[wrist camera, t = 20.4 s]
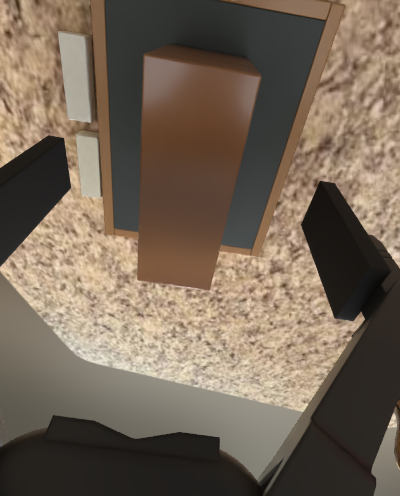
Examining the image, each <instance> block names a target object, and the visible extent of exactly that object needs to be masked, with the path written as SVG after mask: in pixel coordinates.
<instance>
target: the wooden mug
mask: <svg viewBox="0 0 400 496" xmlns="http://www.w3.org/2000/svg"><path fill="white" fill-rule="evenodd" d="M393 413H394V414H395V415H396V418H397V432H396V438H395V449H394V453H395V457H396V462H397V466H398V468H399V470H400V397H399V399H398V402H397V404H396V407H395V409H394V412H393Z"/></svg>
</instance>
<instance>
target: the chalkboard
mask: <svg viewBox="0 0 400 496" xmlns="http://www.w3.org/2000/svg"><path fill="white" fill-rule="evenodd" d="M344 9H345V5H344V4H339V3H331V2H328V1H323V0H91V16H92V32H93V47H94V63H95V79H96V95H97V110H98V126H99V142H100V157H101V173H102V189H103V205H104V220H105V234H108V235H115V236H122V237H128V238H135V239H138V233H139V195H140V157H141V119H142V81H143V55H144V54H145V53H148V52H150V51H153V50H155V49H158V48H161V47H163V46H166V45H168V44H171V43H176V44H182V45H187V46H193V47H198V48H203V49H209V50H214V51H219V52H225V53H230V54H236V55H241V56H246V57H248V59H249V60H250V61H251V63H252V64H253V65H254V67H255V68H256V69H257V71H258V72H259V73H260V74H261V81H260V86H259V90H258V94H257V98H256V102H255V106H254V110H253V114H252V118H251V123H250V127H249V131H248V135H247V139H246V143H245V147H244V151H243V155H242V160H241V164H240V168H239V172H238V176H237V180H236V184H235V188H234V192H233V197H232V201H231V205H230V209H229V213H228V217H227V221H226V225H225V229H224V234H223V238H222V242H221V246H220V250H219V251H220V252H227V253H234V254H240V255H247V256H253V257H259V254H260V251H261V248H262V245H263V242H264V239H265V237H266V234H267V231H268V228H269V225H270V222H271V219H272V216H273V214H274V211H275V208H276V205H277V202H278V199H279V196H280V193H281V191H282V188H283V185H284V182H285V179H286V176H287V173H288V170H289V168H290V165H291V162H292V159H293V156H294V153H295V150H296V147H297V144H298V142H299V139H300V136H301V133H302V130H303V127H304V124H305V121H306V119H307V116H308V113H309V110H310V107H311V104H312V101H313V98H314V96H315V93H316V90H317V87H318V84H319V81H320V78H321V75H322V72H323V70H324V67H325V64H326V61H327V58H328V55H329V52H330V49H331V47H332V44H333V41H334V38H335V35H336V32H337V29H338V26H339V24H340V21H341V18H342V15H343V12H344Z"/></svg>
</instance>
